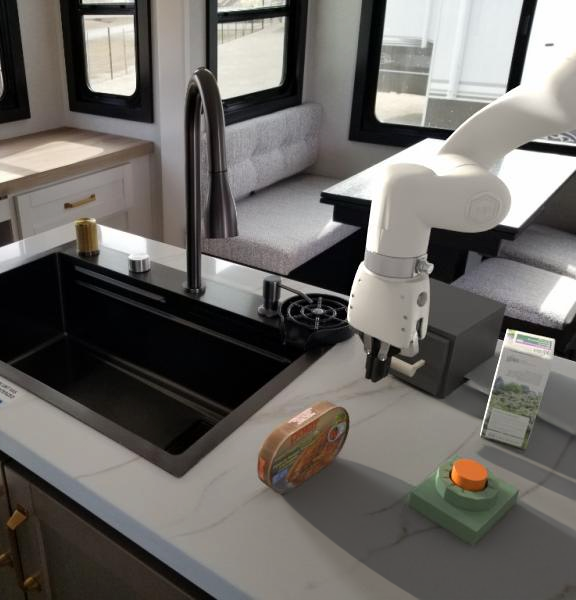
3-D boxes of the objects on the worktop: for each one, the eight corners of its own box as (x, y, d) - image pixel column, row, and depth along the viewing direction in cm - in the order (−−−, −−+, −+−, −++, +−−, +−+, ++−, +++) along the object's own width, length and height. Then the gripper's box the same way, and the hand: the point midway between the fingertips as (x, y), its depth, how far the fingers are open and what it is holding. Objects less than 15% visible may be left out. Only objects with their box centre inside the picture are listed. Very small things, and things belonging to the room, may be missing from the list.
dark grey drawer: (419, 406, 91) (429, 353, 87) (352, 372, 99) (358, 322, 95) (482, 362, 101) (494, 313, 97) (416, 335, 109) (424, 288, 105)
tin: (269, 506, 75) (273, 450, 72) (250, 491, 78) (253, 436, 74) (348, 451, 84) (355, 399, 80) (329, 439, 86) (335, 388, 82)
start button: (460, 466, 76) (463, 454, 75) (490, 482, 73) (493, 470, 73) (444, 479, 74) (447, 468, 73) (474, 497, 71) (477, 485, 71)
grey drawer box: (442, 399, 94) (456, 336, 89) (369, 363, 103) (378, 304, 98) (491, 364, 102) (506, 304, 97) (420, 333, 111) (430, 277, 106)
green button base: (452, 467, 81) (458, 443, 79) (515, 503, 75) (523, 477, 74) (407, 505, 75) (413, 479, 73) (472, 546, 70) (480, 519, 68)
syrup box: (529, 427, 88) (556, 336, 81) (525, 452, 83) (554, 358, 77) (484, 415, 90) (507, 325, 84) (478, 438, 86) (502, 346, 79)
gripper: (462, 270, 80) (437, 390, 89) (363, 237, 91) (349, 348, 99) (430, 287, 76) (406, 411, 85) (330, 250, 87) (318, 365, 95)
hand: (376, 377), depth 92 cm, fingers closed
